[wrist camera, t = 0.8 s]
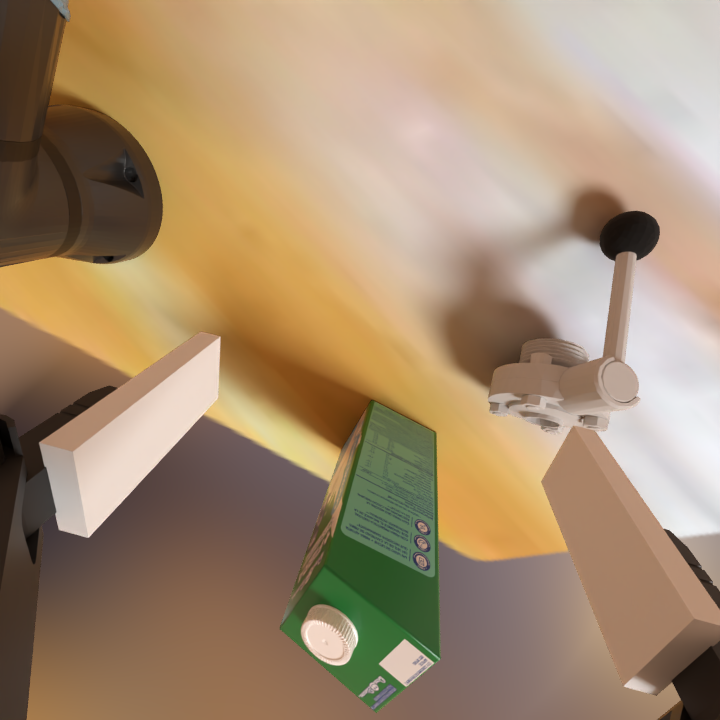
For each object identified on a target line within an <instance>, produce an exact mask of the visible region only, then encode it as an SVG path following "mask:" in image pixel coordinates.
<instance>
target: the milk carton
mask: <svg viewBox="0 0 720 720" xmlns="http://www.w3.org/2000/svg"><path fill="white" fill-rule="evenodd" d="M438 547H439V546H438V491H437V436H436V433H435V432H433V431H431V430H429V429H427V428H425V427H424V426H422V425H420V424H418V423H416V422H414V421H412V420H410V419H408V418H406V417H404V416H402V415H400V414H398V413H397V412H395V411H393V410H391V409H389V408H387V407H385V406H383V405H381V404H379V403H377V402H375V401H373V400H371V402H370V403H369V405H368V407H367V408H366V410H365V412H364V413H363V415H362V416H361V418H360V420H359V421H358V423H357V425H356V426H355V428H354V430H353V431H352V433H351V435H350V436H349V438H348V440H347V441H346V443H345V445H344V446H343V448H342V450H341V453H340V456H339V458H338V461H337V464H336V467H335V470H334V473H333V476H332V479H331V481H330V484H329V487H328V490H327V493H326V496H325V499H324V502H323V505H322V507H321V510H320V513H319V516H318V519H317V522H316V525H315V528H314V530H313V534H312V536H311V539H310V542H309V545H308V548H307V551H306V554H305V556H304V560H303V562H302V565H301V568H300V571H299V574H298V577H297V579H296V582H295V585H294V588H293V591H292V594H291V597H290V599H289V602H288V605H287V608H286V611H285V614H284V617H283V619H282V622H281V625H280V630H282V631H283V632H284V633H285V634H286V635H287V636H289V637H290V638H291V639H292V640H293V641H294V642H295V643H297V644H298V645H299V646H300V647H301V648H302V649H303V650H305V651H306V652H307V653H308V654H309V655H310V656H311V657H313V658H314V659H315V660H316V661H317V662H318V663H320V664H321V665H322V666H323V667H324V668H325V669H326V670H328V671H329V672H330V673H331V674H332V675H333V676H334V677H336V678H337V679H338V680H339V681H340V682H341V683H342V684H344V685H345V686H346V687H347V688H348V689H349V690H350V691H352V692H353V693H354V694H355V695H356V696H357V697H359V698H360V699H361V700H362V701H363V702H364V703H366V704H367V705H368V706H369V707H370V708H371V709H372V710H374V711H375V712H376V713H377V712H378V711H379V710H380V709H382V708H383V707H384V706H385V705H387V703H389V702H390V701H391V700H392V699H394V698H395V697H396V696H397V695H398V694H400V693H401V692H402V691H403V690H404V689H406V688H407V687H408V686H409V685H410V684H411V683H413V682H414V681H415V680H416V679H417V678H418V677H420V676H421V675H422V674H423V673H425V672H426V671H427V670H428V669H429V668H430V667H431V666H433V665H434V664H435V663H436V662H437V661H439V660H440V659H441V656H440V604H439V603H440V600H439V548H438Z"/></svg>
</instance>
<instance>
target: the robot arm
mask: <svg viewBox="0 0 720 720" xmlns="http://www.w3.org/2000/svg"><path fill="white" fill-rule="evenodd" d="M68 1H69V0H0V267H4V266H9V265H14V264H19V263H24V262H29V261H34V260H39V259H44V258H50V257H61V258H67V259H72V260H78V261H84V262H90V263H97V264H112V263H118V262H122V261H126V260H131V259H134V258H136V257H138V256H140V255H141V254H143V253H144V252H145V251H147V250H148V249H149V247H150V246H151V245H152V244H153V242H154V241H155V239H156V237H157V235H158V232H159V229H160V226H161V221H162V212H163V204H162V194H161V189H160V185H159V181H158V178H157V175H156V172H155V170H154V168H153V165H152V163H151V161H150V159H149V158H148V156H147V154H146V152H145V151H144V149H143V148H142V147H141V145H140V144H139V143H138V141H137V140H136V139H135V138H134V137H133V136H132V134H131V133H130V132H129V131H127V130H126V129H125V128H124V127H123V126H122V125H121V124H119V123H118V122H116V121H115V120H113V119H112V118H110V117H108V116H107V115H104V114H102V113H100V112H97V111H94V110H90V109H86V108H81V107H77V106H72V105H51V106H48V105H49V100H50V95H51V91H52V86H53V81H54V76H55V72H56V67H57V62H58V57H59V53H60V48H61V43H62V38H63V33H64V29H65V24H66V21H68V22H69V21H70V11H69V9H68ZM220 339H221V336H217V335H213V334H209V333H205V332H199V333H198V334H196V335H195V336H193V337H192V338H190V339H189V340H188V341H186V342H185V343H183V344H182V345H180V346H179V347H177V348H176V349H174V350H173V351H172V352H170V353H169V354H167V355H166V356H164V357H163V358H161V359H160V360H158V361H157V362H156V363H154V364H153V365H151V366H150V367H148V368H147V369H145V370H144V371H142V372H141V373H140V374H138V375H137V376H135V377H134V378H132V379H131V380H129V381H128V382H127V383H125V384H124V385H122V386H121V387H119V388H116V387H112V386H107V387H104V388H101V389H98V390H95V391H92V392H90V393H88V394H86V395H85V396H83V397H82V398H80V399H78V400H77V401H75V402H74V404H73V405H69V406H68V407H66V408H65V409H63V410H61V412H60V413H57V414H55V415H53V416H52V417H51V418H49V419H47V420H46V421H44V422H43V423H41V424H39V425H38V426H36V427H35V428H33V429H32V430H30V431H28V432H27V433H25V434H24V435H22V436H21V437H19V438H18V434H17V430H16V426H15V422H14V420H13V419H11V418H10V417H8V416H6V415H0V720H26V719H27V708H28V698H29V687H30V676H31V665H32V654H33V642H34V632H35V622H36V611H37V600H38V589H39V578H40V567H41V556H42V546H43V531H42V527H41V526H42V525H43V524H44V523H45V522H46V521H47V520H48V519H49V518H51V517H52V516H53V515H54V514H56V518H57V523H58V527H59V530H62V531H66V532H69V533H73V534H76V535H80V536H84V537H87V538H89V537H90V536H91V534H92V533H93V532H94V531H95V530H96V529H97V528H98V527H99V526H100V525H101V524H102V523H103V522H104V520H105V519H106V518H107V517H108V516H109V515H110V514H111V513H112V512H113V511H114V510H115V509H116V508H117V507H118V505H119V504H120V503H121V502H122V501H123V500H124V499H125V498H126V497H127V496H128V495H129V494H130V492H131V491H132V490H133V489H134V488H135V487H136V486H137V485H138V484H139V483H140V482H141V481H142V480H143V479H144V477H145V476H146V475H147V474H148V473H149V472H150V471H151V470H152V469H153V468H154V467H155V466H156V465H157V463H158V462H159V461H160V460H161V459H162V458H163V457H164V456H165V455H166V454H167V453H168V451H170V449H171V448H172V447H173V446H174V445H175V444H176V443H177V442H178V441H179V440H180V439H181V438H182V437H183V435H184V434H185V433H186V432H187V431H188V430H189V429H190V428H191V427H192V426H193V425H194V423H196V421H197V420H198V419H199V418H200V417H201V416H202V415H203V414H204V413H205V412H206V411H207V410H208V409H209V407H210V406H211V405H212V404H213V403H214V402H215V401H216V400H217V399H218V389H219V364H220ZM541 483H542V485H543V487H544V490H545V492H546V495H547V497H548V500H549V502H550V505H551V507H552V510H553V512H554V515H555V517H556V520H557V522H558V525H559V527H560V530H561V532H562V535H563V537H564V540H565V542H566V545H567V547H568V550H569V552H570V554H571V557H572V560H573V562H574V565H575V567H576V570H577V572H578V575H579V577H580V580H581V582H582V585H583V587H584V590H585V592H586V595H587V597H588V599H589V602H590V605H591V607H592V609H593V612H594V614H595V617H596V620H597V622H598V625H599V627H600V630H601V632H602V634H603V637H604V640H605V642H606V644H607V647H608V649H609V652H610V654H611V657H612V659H613V662H614V664H615V667H616V669H617V672H618V674H619V677H620V679H621V682H622V684H623V686H624V687H627V688H631V689H634V690H638V691H642V692H645V693H649V694H653V695H656V696H657V695H658V694H659V693H660V692H661V691H662V690H664V689H665V688H666V687H667V686H668V685H669V684H670V683H671V682H672V683H673V684H674V686H675V688H676V690H677V692H678V694H679V696H680V698H681V701H679V702H678V703H677V704H676V705H674V706H673V707H672V708H671V709H670V710H668V711H667V712H666V713H665V714H663V715H662V716H661V717H660V718H658V720H720V591H719V590H718V588H717V587H716V586H714V585H713V581H712V580H711V579H710V577H709V576H708V575H707V573H706V572H705V571H704V570H702V569H701V565H700V564H699V562H698V561H697V560H696V558H695V557H694V555H693V554H692V553H691V551H690V550H689V549H688V547H686V546H685V545H684V544H683V543H682V542H681V541H680V540H679V539H678V538H677V537H676V536H675V535H674V534H673V533H672V532H671V531H669V530H666V529H663V528H662V526H661V525H660V523H659V522H658V521H657V519H656V518H655V516H654V515H653V513H652V512H651V511H650V509H649V508H648V506H647V505H646V503H645V502H644V500H643V499H642V498H641V496H640V495H639V493H638V492H637V490H636V489H635V488H634V486H633V485H632V483H631V482H630V480H629V479H628V478H627V476H626V475H625V473H624V472H623V470H622V469H621V468H620V466H619V465H618V463H617V462H616V460H615V459H614V457H613V456H612V455H611V453H610V452H609V450H608V449H607V447H606V446H605V445H604V443H603V442H602V440H601V439H600V437H599V436H598V435H597V433H596V432H595V430H591V429H587V428H583V427H579V426H575V425H573V427H572V428H571V430H570V432H569V434H568V435H567V437H566V439H565V441H564V442H563V444H562V446H561V448H560V449H559V451H558V453H557V455H556V457H555V458H554V460H553V462H552V464H551V465H550V467H549V469H548V471H547V472H546V474H545V476H544V478H543V479H542V481H541Z"/></svg>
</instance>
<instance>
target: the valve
mask: <svg viewBox="0 0 720 720" xmlns="http://www.w3.org/2000/svg"><path fill="white" fill-rule="evenodd" d="M659 235H660V228H659V225H658V223H657V221H656V220H655V219H654V218H653V217H652V216H650V215H649V214H647V213H645V212H640V211H630V212H624V213H622V214H620V215H618V216H616V217H614V218H613V219H611V220H610V221H609V222H608V223H607V224H606V226H605V227H604V228H603V230H602V232H601V235H600V247H601V250H602V252H603V253H604V255H606V256H607V257H608V258H609V259H611V260H614V261H615V267H614V275H613V283H612V290H611V298H610V306H609V313H608V321H607V329H606V337H605V344H604V352H603V357H602V358H599V359H596V360H593V361H589V354H588V353H587V352H586V350H585V349H584V347H582V346H580V345H578V344H576V343H573V342H569V341H565V340H560V339H552V338H540V339H534V340H530V341H527V342H525V343H524V344H523V346H522V350H521V356H520V360H519V363H512V364H506V365H503V366H500V367H498V368H496V369H495V370H494V373H493V378H492V382H491V387H490V392H489V397H488V402H489V403H490V404H491V405H490V410H489V412H490V413H492V414H494V415H496V416H507V415H508V414H510V415H512V416H515V417H518V418H522V419H524V420H525V421H527V422H530V423H532V424H535V425H539V426H541V429H542V430H543V431H545V432H547V433H550V434H561V433H562V431H563V427H567V428H572V427H573V425H575V426H579V427H583V428H587V429H591V430H595V431H606V430H607V427H608V424H609V419H610V412H612V411H620V410H627V409H629V408H632V407H635V406H636V405H637V404H638V403H639V402H640V398H639V397H635V396H636V395H637V393H638V389H639V382H638V378H637V376H636V374H635V373H634V371H633V370H632V369H631V368H630V367H629V366H628V365H627V364H625V354H626V346H627V337H628V328H629V319H630V311H631V302H632V293H633V285H634V276H635V267H636V260H639V259H641V258H643V257H645V256H646V255H648V254H649V253H650V252H651V251H652V250H653V249H654V247H655V246H656V244H657V242H658V239H659Z"/></svg>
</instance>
